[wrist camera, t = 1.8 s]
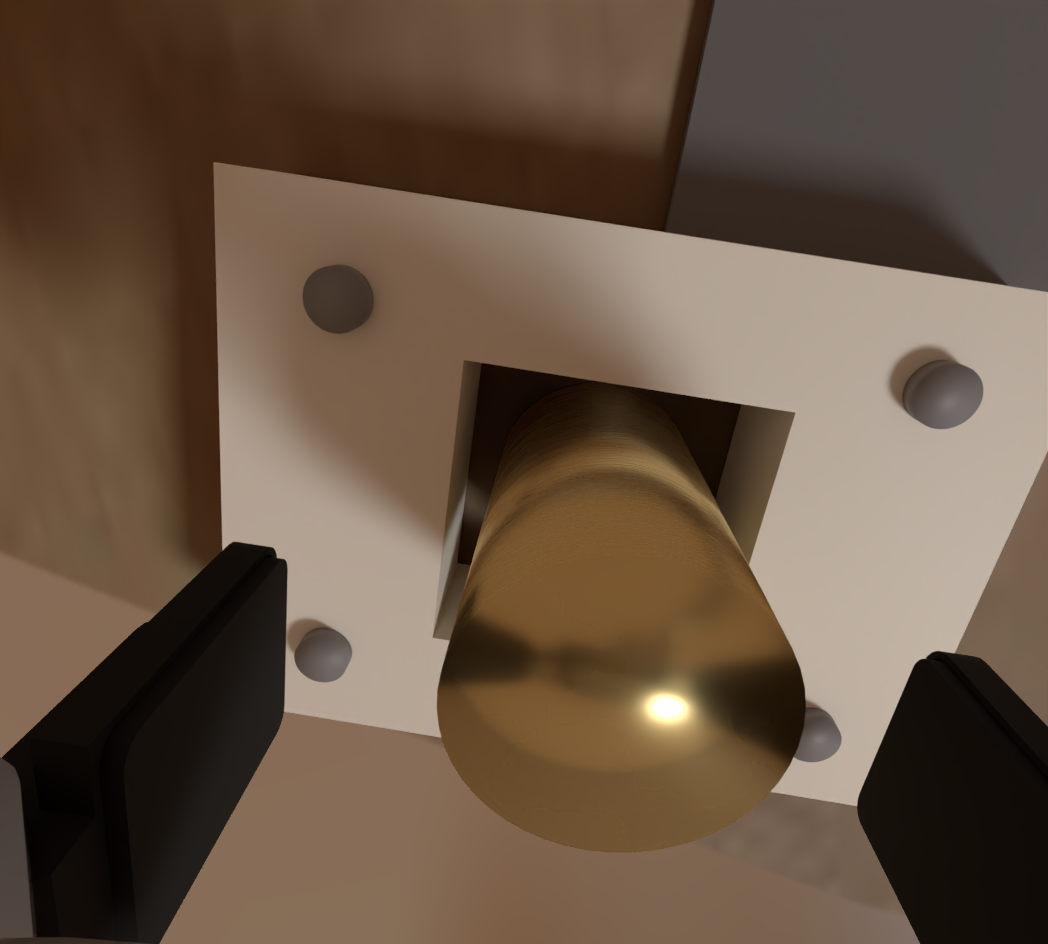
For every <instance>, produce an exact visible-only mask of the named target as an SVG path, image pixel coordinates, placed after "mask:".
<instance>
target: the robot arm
mask: <svg viewBox="0 0 1048 944" xmlns="http://www.w3.org/2000/svg"><path fill="white" fill-rule="evenodd" d="M287 574H288V568H287V562H286V560H285V559H280V558H277V555H276V551H275V549H274V548H273V547H267V546H261V545H254V544H248V543H241V542H232V543H230V544H229V545H228V546H227V547H226V548H225V549H224V550H223V551H222V552H221V553H220V554H219V555H217V556H216V557H215V558H214V559H213V560H212V561H211V562H210V563H209V564H208V565H207V566H206V567H205V568H204V569H203V570H202V571H201V572H200V573H199V574H198V575H197V576H196V577H195V578H194V579H193V580H192V581H191V582H190V583H188V584H187V585H186V586H185V587H184V588H183V589H182V590H181V591H180V592H179V593H178V594H177V595H176V596H175V597H174V598H173V599H172V600H171V601H170V602H169V603H168V604H167V605H166V606H165V607H164V608H163V609H162V610H161V611H159V612H158V613H157V614H156V615H155V616H154V617H153V618H152V619H151V620H150V621H149V622H146V623H144V624H143V625H141V626H140V627H139V628H137V629H136V630H135V631H134V632H133V633H132V634H131V635H130V636H129V637H128V638H127V639H126V640H124V641H123V642H122V643H121V644H120V645H119V646H118V647H117V648H116V649H115V650H114V651H113V652H112V653H111V654H110V655H109V656H108V657H107V658H106V659H105V660H104V661H102V662H101V663H100V664H99V665H98V666H97V667H96V668H95V669H94V670H93V671H92V672H91V673H90V674H89V675H88V676H87V677H86V678H85V679H84V680H83V681H82V682H80V683H79V684H78V685H77V686H76V687H75V688H74V689H73V690H72V691H71V692H70V693H69V694H68V695H67V696H66V697H65V698H64V699H63V700H62V701H61V702H60V703H58V704H57V705H56V706H55V707H54V708H53V709H52V710H51V711H50V712H49V713H48V714H47V715H46V716H45V717H44V718H43V719H42V720H41V721H40V722H39V723H37V725H35V726H34V727H33V728H32V729H31V730H30V731H29V732H28V733H27V734H26V735H25V736H24V737H23V738H22V739H21V740H20V741H19V742H18V743H17V744H15V745H14V746H13V747H12V748H11V749H10V750H9V751H8V752H7V753H6V754H5V755H4V756H3V757H2V758H0V944H159V943H160V941H161V940H162V938H163V936H164V934H165V932H166V931H167V929H168V927H169V925H170V924H171V922H172V920H173V918H174V916H175V914H176V913H177V911H178V909H179V907H180V905H181V904H182V902H183V900H184V898H185V897H186V895H187V893H188V891H189V890H190V888H191V886H192V884H193V882H194V881H195V879H196V877H197V875H198V873H199V872H200V870H201V868H202V866H203V864H204V862H205V861H206V859H207V857H208V856H209V854H210V852H211V850H212V848H213V847H214V845H215V843H216V841H217V839H218V838H219V836H220V834H221V832H222V830H223V829H224V827H225V825H226V823H227V821H228V820H229V818H230V816H231V814H232V812H233V811H234V809H235V807H236V805H237V803H238V802H239V800H240V798H241V796H242V795H243V793H244V791H245V789H246V788H247V786H248V784H249V782H250V780H251V779H252V777H253V775H254V773H255V771H256V770H257V768H258V766H259V764H260V762H261V761H262V759H263V757H264V755H265V754H266V752H267V750H268V748H269V746H270V745H271V743H272V741H273V739H274V737H275V736H276V734H277V732H278V730H279V727H280V724H281V721H282V718H283V713H284V705H285V663H286V619H287ZM857 810H858V817H859V820H860V823H861V825H862V827H863V829H864V831H865V833H866V835H867V837H868V839H869V841H870V843H871V845H872V847H873V849H874V851H875V853H876V855H877V857H878V859H879V862H880V864H881V866H882V868H883V870H884V872H885V874H886V876H887V878H888V880H889V882H890V884H891V886H892V888H893V890H894V892H895V894H896V896H897V898H898V900H899V902H900V904H901V906H902V908H903V910H904V912H905V914H906V916H907V918H908V920H909V922H910V924H911V926H912V928H913V930H914V932H915V934H916V936H917V938H918V940H919V942H920V944H1048V727H1047V725H1046V724H1045V723H1044V722H1043V721H1042V720H1041V719H1040V718H1039V717H1038V716H1037V715H1036V714H1035V713H1034V712H1033V711H1032V710H1031V709H1030V708H1029V707H1028V706H1027V705H1026V704H1025V703H1024V702H1023V701H1022V700H1021V699H1020V697H1019V696H1018V695H1017V694H1016V693H1015V692H1014V691H1013V690H1012V689H1011V688H1010V687H1009V686H1008V685H1007V684H1006V683H1005V682H1004V681H1003V680H1002V679H1001V678H1000V677H999V676H998V675H997V674H996V673H995V672H994V671H993V669H992V668H991V667H990V666H989V665H988V664H987V663H986V662H985V661H983V660H982V659H980V658H978V657H974V656H968V655H961V654H955V653H948V652H942V651H935V652H932V653H931V654H929V655H928V656H927V657H926V659H920V660H919V661H917V662H916V663H915V665H914V667H913V669H912V671H911V674H910V676H909V678H908V681H907V683H906V685H905V688H904V690H903V692H902V695H901V697H900V699H899V702H898V704H897V707H896V709H895V711H894V714H893V716H892V718H891V721H890V723H889V725H888V728H887V730H886V732H885V735H884V737H883V739H882V742H881V744H880V746H879V749H878V751H877V754H876V756H875V758H874V761H873V763H872V765H871V768H870V770H869V772H868V775H867V777H866V779H865V782H864V784H863V786H862V789H861V791H860V793H859V797H858V802H857Z"/></svg>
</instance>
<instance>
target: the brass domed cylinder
mask: <svg viewBox="0 0 1048 944" xmlns="http://www.w3.org/2000/svg"><path fill="white" fill-rule="evenodd" d="M805 713H806V698H805V686H804V682H803V677H802V673H801V668H800V666H799V663H798V661H797V658H796V656H795V653H794V651H793V649H792V647H791V645H790V643H789V641H788V639H787V637H786V635H785V633H784V631H783V629H782V628H781V626H780V624H779V622H778V620H777V618H776V616H775V614H774V612H773V610H772V608H771V606H770V605H769V603H768V601H767V599H766V597H765V595H764V593H763V591H762V589H761V587H760V585H759V583H758V581H757V580H756V578H755V576H754V574H753V572H752V570H751V568H750V566H749V564H748V562H747V560H746V558H745V557H744V555H743V553H742V551H741V549H740V547H739V545H738V543H737V541H736V539H735V537H734V535H733V534H732V532H731V530H730V528H729V526H728V524H727V522H726V520H725V518H724V516H723V514H722V512H721V510H720V509H719V507H718V505H717V503H716V501H715V499H714V497H713V495H712V493H711V491H710V489H709V487H708V486H707V484H706V482H705V480H704V478H703V476H702V474H701V472H700V470H699V468H698V466H697V464H696V462H695V461H694V459H693V457H692V455H691V453H690V451H689V449H688V447H687V445H686V443H685V441H684V439H683V438H682V436H681V434H680V432H679V430H678V428H677V427H676V425H675V423H674V422H673V420H672V419H671V418H670V417H669V415H668V414H667V413H666V412H665V411H664V410H663V409H662V408H661V407H660V406H659V405H658V404H657V403H655V402H654V401H652V400H651V399H650V398H648V397H647V396H645V395H643V394H641V393H639V392H637V391H635V390H632V389H630V388H627V387H624V386H620V385H616V384H611V383H600V382H593V383H581V384H575V385H571V386H567V387H564V388H561V389H558V390H556V391H554V392H552V393H549V394H548V395H546V396H544V397H543V398H541V399H540V400H538V401H537V402H535V403H534V404H533V405H532V406H531V407H529V408H528V409H527V410H526V411H525V412H524V413H523V415H522V416H521V417H520V418H519V419H518V421H517V422H516V423H515V425H514V426H513V428H512V430H511V432H510V434H509V436H508V437H507V440H506V443H505V446H504V449H503V452H502V456H501V459H500V463H499V466H498V470H497V473H496V477H495V481H494V484H493V488H492V491H491V495H490V498H489V502H488V506H487V509H486V513H485V516H484V520H483V523H482V527H481V531H480V534H479V538H478V541H477V545H476V548H475V552H474V556H473V559H472V563H471V566H470V570H469V573H468V577H467V580H466V584H465V588H464V591H463V595H462V598H461V602H460V605H459V609H458V613H457V616H456V620H455V623H454V627H453V630H452V634H451V638H450V641H449V645H448V648H447V652H446V655H445V659H444V663H443V666H442V670H441V674H440V679H439V684H438V689H437V716H438V724H439V730H440V733H441V737H442V740H443V744H444V747H445V749H446V751H447V753H448V756H449V758H450V760H451V762H452V764H453V766H454V767H455V769H456V770H457V772H458V773H459V775H460V776H461V778H462V780H463V781H464V782H465V783H466V784H467V786H468V787H469V788H470V789H471V790H472V792H473V793H474V794H475V795H476V796H477V797H478V798H479V799H480V800H481V801H483V802H484V803H485V804H486V805H487V806H488V807H489V808H490V809H492V810H493V811H494V812H496V813H497V814H499V815H500V816H501V817H503V818H504V819H505V820H507V821H509V822H511V823H512V824H514V825H516V826H518V827H519V828H521V829H523V830H525V831H527V832H530V833H532V834H534V835H536V836H539V837H541V838H543V839H546V840H549V841H553V842H556V843H559V844H562V845H565V846H570V847H575V848H580V849H585V850H593V851H603V852H641V851H652V850H658V849H663V848H669V847H674V846H677V845H681V844H684V843H688V842H691V841H695V840H697V839H700V838H702V837H705V836H707V835H710V834H712V833H714V832H716V831H718V830H720V829H722V828H724V827H726V826H728V825H730V824H731V823H733V822H735V821H736V820H738V819H739V818H740V817H742V816H743V815H745V814H746V813H748V812H749V811H750V810H752V809H753V808H754V807H755V806H756V805H757V804H758V803H760V802H761V801H762V800H763V799H764V798H765V797H766V796H767V795H768V794H769V793H770V792H771V790H772V789H773V788H774V787H775V786H776V785H777V784H778V782H779V781H780V780H781V778H782V777H783V775H784V773H785V772H786V770H787V769H788V767H789V766H790V764H791V762H792V760H793V758H794V755H795V753H796V751H797V749H798V747H799V743H800V740H801V736H802V733H803V729H804V722H805Z"/></svg>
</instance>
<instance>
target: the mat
mask: <svg viewBox="0 0 1048 944" xmlns="http://www.w3.org/2000/svg"><path fill="white" fill-rule="evenodd" d="M664 232H669V233H675V234H682V235H688V236H694V237H701V238H707V239H714V240H720V241H726V242H733V243H739V244H746V245H752V246H758V247H765V248H771V249H778V250H784V251H790V252H797V253H803V254H810V255H816V256H822V257H829V258H835V259H842V260H848V261H854V262H861V263H867V264H874V265H880V266H886V267H893V268H899V269H906V270H912V271H918V272H925V273H931V274H938V275H944V276H950V277H957V278H963V279H970V280H976V281H982V282H989V283H995V284H1002V285H1008V286H1014V287H1021V288H1027V289H1034V290H1040V291H1046V292H1048V0H712V5H711V10H710V14H709V19H708V24H707V29H706V34H705V38H704V43H703V48H702V53H701V58H700V62H699V67H698V72H697V77H696V81H695V86H694V91H693V96H692V101H691V105H690V110H689V115H688V120H687V124H686V129H685V134H684V139H683V144H682V148H681V153H680V158H679V163H678V167H677V172H676V177H675V182H674V187H673V191H672V196H671V201H670V206H669V210H668V215H667V220H666V225H665V230H664Z"/></svg>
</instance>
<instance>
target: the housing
mask: <svg viewBox="0 0 1048 944" xmlns="http://www.w3.org/2000/svg"><path fill="white" fill-rule="evenodd" d="M213 167H214V210H215V253H216V296H217V339H218V382H219V425H220V468H221V511H222V551H223V550H224V549H225V548H226V547H227V546H228V545H229V544H230V543H232V542H241V543H248V544H254V545H261V546H267V547H273V548H274V549H275V551H276V555H277V558H280V559H285V560H286V562H287V568H288V574H287V619H286V663H285V705H284V712H291V713H297V714H303V715H309V716H315V717H321V718H327V719H333V720H339V721H345V722H351V723H357V724H364V725H369V726H376V727H382V728H387V729H393V730H400V731H406V732H412V733H418V734H424V735H430V736H436V737H441V733H440V730H439V724H438V716H437V689H438V684H439V679H440V674H441V670H442V666H443V663H444V659H445V655H446V652H447V648H448V645H449V641H450V638H451V634H452V630H453V627H454V623H455V620H456V616H457V613H458V609H459V605H460V602H461V598H462V595H463V591H464V588H465V584H466V580H467V577H468V573H469V570H470V566H471V565H468V564H461V563H457V560H458V552H459V544H460V536H461V528H462V519H463V511H464V503H465V495H466V487H467V479H468V471H469V463H470V455H471V446H472V438H473V430H474V422H475V414H476V406H477V398H478V390H479V382H480V373H481V365H482V363H486V364H492V365H499V366H505V367H511V368H517V369H524V370H530V371H536V372H543V373H549V374H555V375H562V376H568V377H574V378H580V379H587V380H593V381H599V382H606V383H612V384H618V385H625V386H631V387H637V388H643V389H650V390H656V391H662V392H669V393H675V394H681V395H688V396H694V397H700V398H706V399H713V400H719V401H725V402H732V403H738V404H741V407H740V411H739V415H738V418H737V422H736V426H735V429H734V433H733V437H732V440H731V444H730V448H729V451H728V455H727V459H726V462H725V466H724V470H723V473H722V477H721V480H720V484H719V488H718V491H717V495H716V499H715V501H716V503H717V505H718V507H719V509H720V510H721V512H722V514H723V516H724V518H725V520H726V522H727V524H728V526H729V528H730V530H731V532H732V534H733V535H734V537H735V539H736V541H737V543H738V545H739V547H740V549H741V551H742V553H743V555H744V557H745V558H746V560H747V562H748V564H749V566H750V568H751V570H752V572H753V574H754V576H755V578H756V580H757V581H758V583H759V585H760V587H761V589H762V591H763V593H764V595H765V597H766V599H767V601H768V603H769V605H770V606H771V608H772V610H773V612H774V614H775V616H776V618H777V620H778V622H779V624H780V626H781V628H782V629H783V631H784V633H785V635H786V637H787V639H788V641H789V643H790V645H791V647H792V649H793V651H794V653H795V656H796V658H797V661H798V663H799V666H800V668H801V673H802V677H803V682H804V686H805V698H806V713H805V722H804V729H803V733H802V736H801V740H800V743H799V747H798V749H797V751H796V753H795V755H794V758H793V760H792V762H791V764H790V766H789V767H788V769H787V770H786V772H785V773H784V775H783V777H782V778H781V780H780V781H779V782H778V784H777V785H776V786H775V787H774V788H773V789H772V790H771V792H775V793H782V794H788V795H794V796H800V797H806V798H812V799H818V800H824V801H830V802H836V803H842V804H848V805H854V806H857V802H858V797H859V793H860V791H861V789H862V786H863V784H864V782H865V779H866V777H867V775H868V772H869V770H870V768H871V765H872V763H873V761H874V758H875V756H876V754H877V751H878V749H879V746H880V744H881V742H882V739H883V737H884V735H885V732H886V730H887V728H888V725H889V723H890V721H891V718H892V716H893V714H894V711H895V709H896V707H897V704H898V702H899V699H900V697H901V695H902V692H903V690H904V688H905V685H906V683H907V681H908V678H909V676H910V674H911V671H912V669H913V667H914V665H915V663H916V662H917V661H919V660H920V659H926V657H927V656H928V655H929V654H931V653H932V652H935V651H942V652H948V653H955V651H956V649H957V647H958V645H959V643H960V640H961V638H962V636H963V634H964V632H965V629H966V627H967V625H968V623H969V621H970V619H971V616H972V614H973V612H974V610H975V608H976V606H977V603H978V601H979V599H980V597H981V595H982V593H983V590H984V588H985V586H986V584H987V582H988V580H989V577H990V575H991V573H992V571H993V569H994V566H995V564H996V562H997V560H998V558H999V556H1000V553H1001V551H1002V549H1003V547H1004V545H1005V543H1006V540H1007V538H1008V536H1009V534H1010V532H1011V530H1012V527H1013V525H1014V523H1015V521H1016V519H1017V516H1018V514H1019V512H1020V510H1021V508H1022V506H1023V503H1024V501H1025V499H1026V497H1027V495H1028V493H1029V490H1030V488H1031V486H1032V484H1033V482H1034V480H1035V477H1036V475H1037V473H1038V471H1039V469H1040V466H1041V464H1042V462H1043V460H1044V458H1045V456H1046V453H1047V451H1048V292H1045V291H1039V290H1033V289H1027V288H1020V287H1014V286H1008V285H1002V284H995V283H989V282H982V281H976V280H970V279H963V278H957V277H950V276H944V275H938V274H931V273H925V272H918V271H912V270H906V269H899V268H893V267H886V266H880V265H874V264H867V263H861V262H854V261H848V260H842V259H835V258H829V257H822V256H816V255H810V254H803V253H797V252H790V251H784V250H778V249H771V248H765V247H758V246H752V245H746V244H739V243H733V242H726V241H720V240H714V239H707V238H701V237H694V236H688V235H682V234H675V233H669V232H663V231H656V230H650V229H644V228H637V227H631V226H624V225H618V224H612V223H605V222H599V221H592V220H586V219H580V218H573V217H567V216H560V215H554V214H548V213H541V212H535V211H528V210H522V209H516V208H509V207H503V206H496V205H490V204H483V203H477V202H471V201H464V200H458V199H451V198H445V197H439V196H432V195H426V194H419V193H413V192H407V191H400V190H394V189H387V188H381V187H375V186H368V185H362V184H355V183H349V182H343V181H336V180H330V179H323V178H317V177H311V176H304V175H298V174H291V173H285V172H278V171H271V170H264V169H258V168H251V167H244V166H237V165H231V164H224V163H217V162H213Z"/></svg>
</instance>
